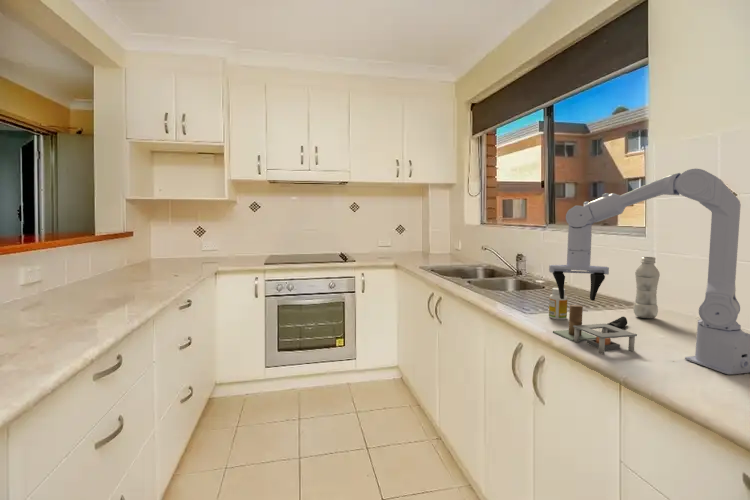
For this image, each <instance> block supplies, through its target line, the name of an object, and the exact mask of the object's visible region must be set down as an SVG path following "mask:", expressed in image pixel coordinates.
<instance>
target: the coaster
mask: <svg viewBox="0 0 750 500" xmlns="http://www.w3.org/2000/svg"><path fill="white" fill-rule="evenodd" d="M552 333H554V334H556V335H558V336H560V337H562V338H565V339H567V340H569V341H571V342H574V336H573V335H570V334H569V329H562V330H553V331H552ZM588 339H596V336H594V335H592V334H589V333H587V332H584V331H582V333H581V336H579V341H587V340H588Z"/></svg>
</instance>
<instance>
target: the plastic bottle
mask: <svg viewBox="0 0 750 500" xmlns="http://www.w3.org/2000/svg"><path fill="white" fill-rule="evenodd" d="M640 263H641V265H640V266H639V267H638V268H637V269H636V270H635V282H636V294H635V301H634V304H633V308H632V310H633V313H634V315H635V316H636V317H639V318H642V319H655V318H656V317H658V313H659V309H658V308H659V307H658V298H657V292H658V291H657V290H658V285H659V281H660V280H659V279H660V271H659V270H658V267H656V265H655V264H656V263H657V262H656V257H654V256H641V260H640Z"/></svg>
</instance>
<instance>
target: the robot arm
mask: <svg viewBox="0 0 750 500" xmlns="http://www.w3.org/2000/svg"><path fill="white" fill-rule="evenodd" d="M665 195H666V196H680V195H681V196H683V197H685V198H686V199H687V198H688V199H690V200H693V201H696V202H698V203H699V204H701V205H702V206H703V207H705V208H706V209H707V210H709V211H711V212H710V213H711V219H710V221H711V222H710V236H709V237H710V238H709V251H708V252H709V253H708V254H709V255H708V267H707V268H708V270H707V283H706V289H705V297H704V300H703V301H702V303H701V304H700V306H699V307H698V316H699V318H700V319H698V320H697V325H696V337H695V338H696V339H695V340H696V341H695V353H694V354H695V355H692V356H691V355H690V356H684V360H687V361H690V362H693V363H695V364H698V365H700V366H702V367H706V368H708V369H711V370H715V371H716V372H719V373H723V374H725V375H737V374H747V373H750V333H748V332H745V331H744V330H742V329H741V328H742V326H741V324H740V323H738V321H737V320H738V317H739V314H740V311H741V305H740V303H739V301H738V299H737V296H736V291H737V290H736V276H737V263H738V249H739V232H740V219H741V201H740V199H739V198H738V197H737V195H735V194H734V193H733V192H732V190H731V189H730V188H729V187H728V186H727V185H726V184H725V183H724V181H723V180H722V179H721V178H719V177H718V176H716V175H714V174H713V173H710V172H709V171H707V170H704V169H702V168H690V169H687V170H685V171H683V172H681V173H680V172H677V173H673V174H671V175H667V176H663V177H661V178H659V179H657V180H654V181H652V182H650V183H647V184H645V185H642V186H640V187H637V188H635V189H633V190H630V191H628V192H626V193H623V194H621V195H620V194H617V193H615V192H612V193H608V192H606V193H603V194H601V197H599V198H597V199H595V200H594V199H593V200H592V201H590V202H589V201H584V202H583V205H574V206H572V207H570V208H569V209H568V210H567V212H566V214H565V221H566V223H567V224H568V230H567V231H568V233H567V250H566V251H567V255H566V256H567V257H566V264H549V266H548V272H549V273H551V274H552V275H553V278H554V281H555V282H556V285H557V288H558V289H559V294H560V298H561V299H564V295H565V294H564V289H565V280H566V276H565V273H566V274H567V273H568V274H590V275H589V277H590V291H589V300H590V301H595V300H596V296H597V293H598V291H599V289H600V287H601V285H602V283H603V282H604V281H605V280H606V279H605V278H606V275H609V274H610V273H609V271H610V270H609V269H610V267H608V266H601V265H600V266H599V265H591V259H592V258H591V254H592V230H593V229H592V225H594V224H595V223H599V222H602V221H605V220H608V219H611V218H612V217H616V216H618V215H619V216H620V215H622V214H623V213H624V211H625V209H626V208H627V207H629V206H633V205H635V204H638V203H641V202H645V201H647V200H650V199H653V198H657V197H661V196H665Z"/></svg>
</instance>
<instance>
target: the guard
mask: <svg viewBox="0 0 750 500" xmlns="http://www.w3.org/2000/svg"><path fill="white" fill-rule="evenodd" d="M573 327H574V328H575V330H574V341H573V342H574V343H580V340H579V333H580V330H581V331H583V332H585V333H588V334H590V335H593V336H595V337H596V336H597V337H599V343H596V339H588V340H586V344H587V345H590V346H592V347H594V348H597V349H598V354H603V355H604V354H605V351H606V350H619V349H621V344H619V343H617V342H614V341H612V340H611V342H610V345H605V338H611V339H615V338H628V349H627V350H628V351H629V352H635V344H636V342H635V341H636V337H637V336H638V334H636V333H634V332H631V331H628V330H626V329H620V328H617V327H614V326H611V325H608V323H594V324H582V325H576V326H573ZM596 329H599V330H600V329H601V332H600V331H598V330H596ZM607 329H608V330H611V331H614V332H615V333H607Z"/></svg>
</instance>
